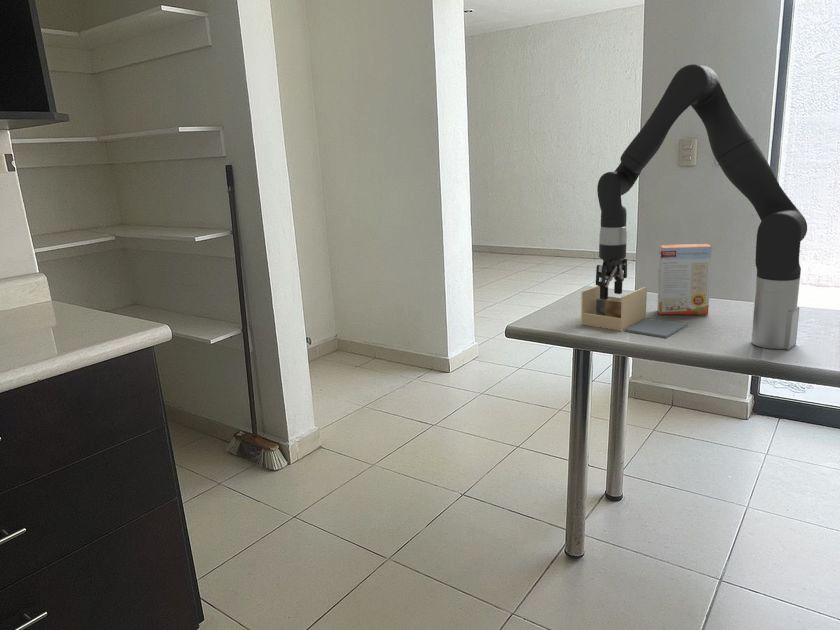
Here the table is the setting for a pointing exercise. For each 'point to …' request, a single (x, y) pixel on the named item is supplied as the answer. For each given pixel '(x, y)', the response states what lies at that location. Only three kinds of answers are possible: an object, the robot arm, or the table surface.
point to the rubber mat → (656, 327)
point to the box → (609, 307)
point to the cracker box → (684, 279)
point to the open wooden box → (630, 309)
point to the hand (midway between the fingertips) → (611, 296)
